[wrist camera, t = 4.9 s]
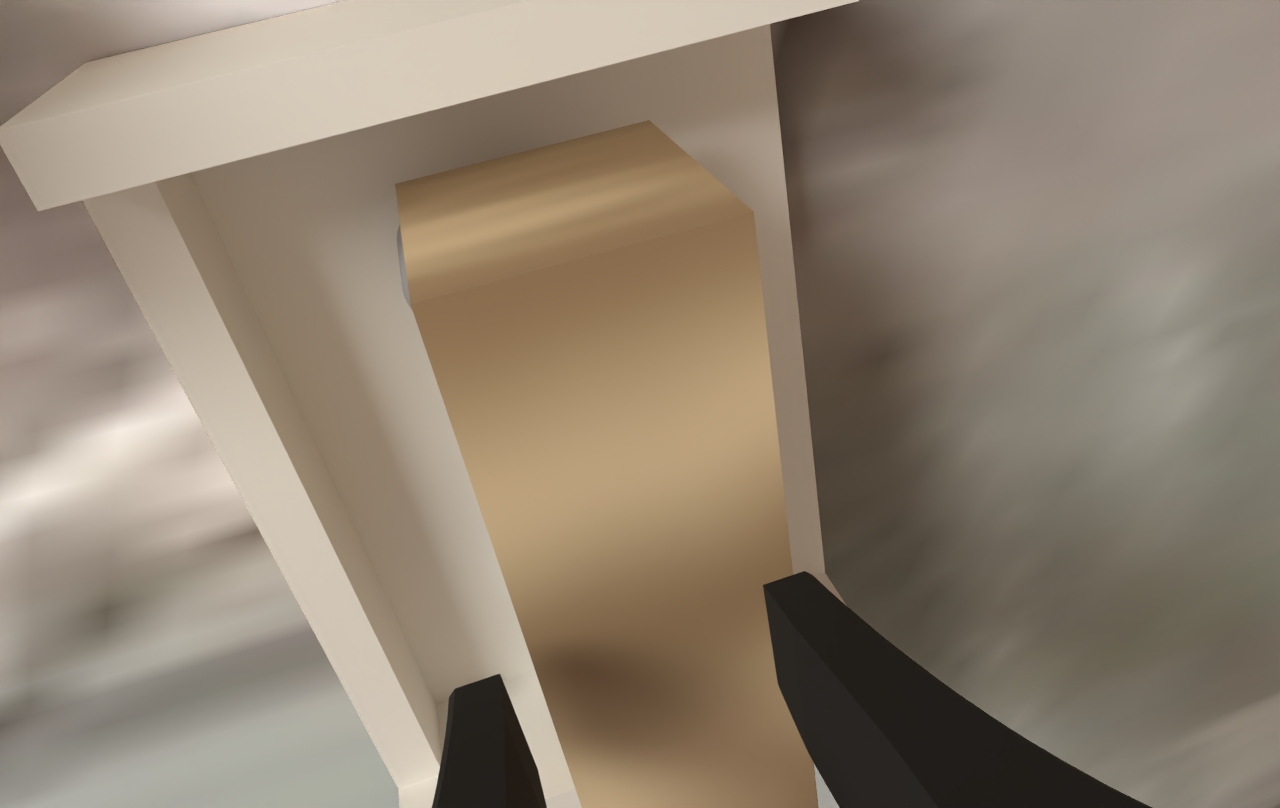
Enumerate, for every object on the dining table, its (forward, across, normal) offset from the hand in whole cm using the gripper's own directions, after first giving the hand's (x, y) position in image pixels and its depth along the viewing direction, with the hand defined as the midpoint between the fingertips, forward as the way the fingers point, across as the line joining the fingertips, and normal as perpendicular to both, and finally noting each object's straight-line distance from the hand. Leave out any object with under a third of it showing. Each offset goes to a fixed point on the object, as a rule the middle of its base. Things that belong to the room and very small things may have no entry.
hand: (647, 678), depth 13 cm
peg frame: (+8, 0, 0) cm, 8 cm away
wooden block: (+6, 0, 0) cm, 6 cm away
